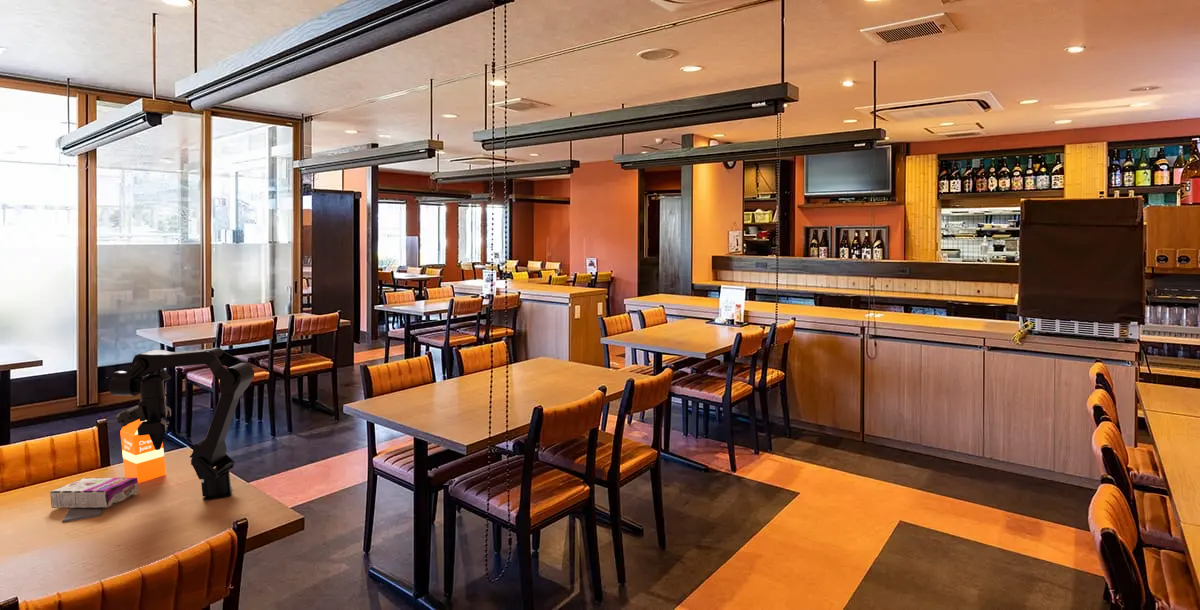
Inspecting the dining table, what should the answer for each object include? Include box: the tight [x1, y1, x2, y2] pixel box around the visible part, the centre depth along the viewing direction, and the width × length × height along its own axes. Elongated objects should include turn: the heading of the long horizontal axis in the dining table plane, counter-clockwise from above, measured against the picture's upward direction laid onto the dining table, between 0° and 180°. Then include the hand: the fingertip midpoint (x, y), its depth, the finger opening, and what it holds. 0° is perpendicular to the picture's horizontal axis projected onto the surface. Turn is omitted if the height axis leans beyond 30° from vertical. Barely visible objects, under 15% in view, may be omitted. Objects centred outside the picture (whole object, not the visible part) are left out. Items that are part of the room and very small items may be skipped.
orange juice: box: [119, 419, 167, 484], centre depth 200 cm, size 8×9×20 cm
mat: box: [61, 508, 105, 523], centre depth 177 cm, size 8×9×1 cm
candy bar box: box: [49, 477, 140, 509], centre depth 182 cm, size 11×5×16 cm
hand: (157, 449), depth 186 cm, fingers closed
